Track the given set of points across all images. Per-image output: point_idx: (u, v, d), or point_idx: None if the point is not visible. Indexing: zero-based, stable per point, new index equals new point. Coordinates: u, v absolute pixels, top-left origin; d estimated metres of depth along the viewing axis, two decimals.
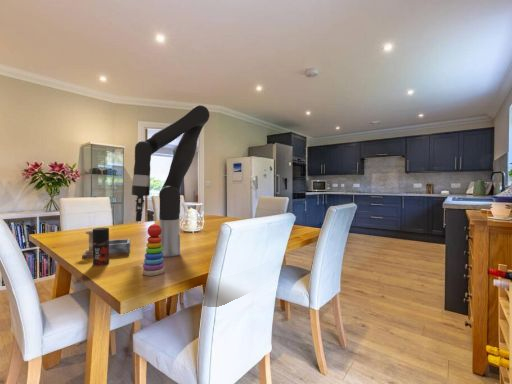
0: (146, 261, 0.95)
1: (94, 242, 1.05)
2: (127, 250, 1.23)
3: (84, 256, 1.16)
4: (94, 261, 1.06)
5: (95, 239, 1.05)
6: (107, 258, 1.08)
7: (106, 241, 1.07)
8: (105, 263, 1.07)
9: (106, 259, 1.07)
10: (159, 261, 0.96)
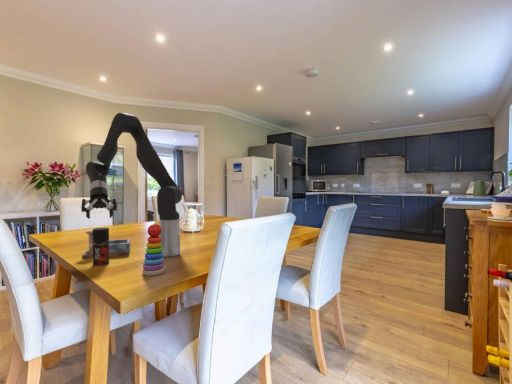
0: (146, 261, 0.95)
1: (94, 242, 1.05)
2: (127, 250, 1.23)
3: (84, 256, 1.16)
4: (94, 261, 1.06)
5: (95, 239, 1.05)
6: (107, 258, 1.08)
7: (106, 241, 1.07)
8: (105, 263, 1.07)
9: (106, 259, 1.07)
10: (159, 261, 0.96)
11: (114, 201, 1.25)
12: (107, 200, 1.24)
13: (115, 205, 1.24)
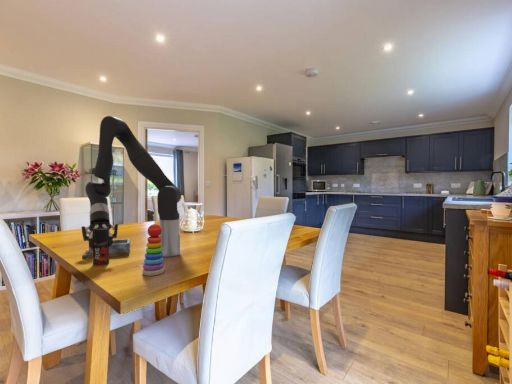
0: (146, 261, 0.95)
1: (94, 242, 1.05)
2: (127, 250, 1.23)
3: (84, 256, 1.16)
4: (94, 261, 1.06)
5: (95, 239, 1.05)
6: (107, 258, 1.08)
7: (106, 241, 1.07)
8: (105, 263, 1.07)
9: (106, 259, 1.07)
10: (159, 261, 0.96)
11: (116, 227, 1.14)
12: (108, 225, 1.13)
13: (115, 232, 1.12)
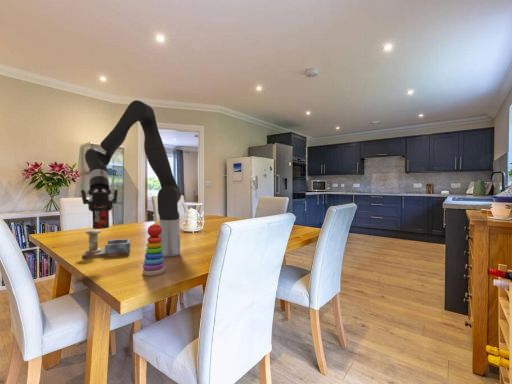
0: (146, 261, 0.95)
1: (94, 205, 1.05)
2: (127, 250, 1.23)
3: (84, 256, 1.16)
4: (94, 224, 1.05)
5: (94, 201, 1.05)
6: (107, 221, 1.08)
7: (106, 204, 1.07)
8: (105, 226, 1.07)
9: (106, 222, 1.07)
10: (159, 261, 0.96)
11: (115, 193, 1.14)
12: (108, 191, 1.13)
13: (115, 197, 1.12)
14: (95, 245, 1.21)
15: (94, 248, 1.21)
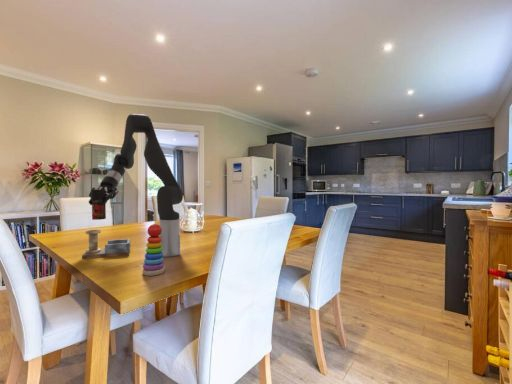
0: (146, 261, 0.95)
1: None
2: (127, 250, 1.23)
3: (84, 256, 1.16)
4: (92, 215, 1.29)
5: None
6: (100, 214, 1.28)
7: (99, 199, 1.28)
8: (98, 218, 1.28)
9: (99, 215, 1.28)
10: (159, 261, 0.96)
11: (113, 190, 1.33)
12: (110, 188, 1.34)
13: (111, 194, 1.31)
14: (95, 245, 1.21)
15: (94, 248, 1.21)
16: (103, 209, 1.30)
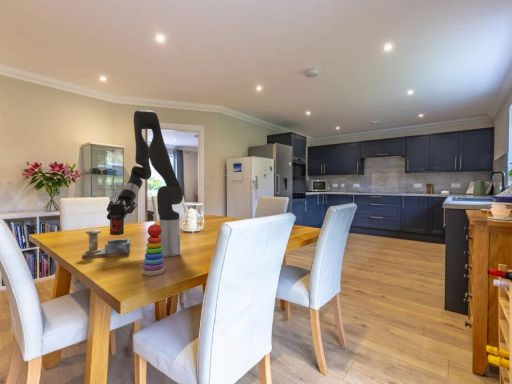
0: (146, 261, 0.95)
1: (110, 214, 1.24)
2: (127, 250, 1.23)
3: (84, 256, 1.16)
4: (110, 230, 1.25)
5: (110, 211, 1.24)
6: (118, 229, 1.24)
7: (117, 214, 1.23)
8: (116, 233, 1.23)
9: (117, 230, 1.24)
10: (159, 261, 0.96)
11: (132, 204, 1.28)
12: (128, 202, 1.30)
13: (129, 208, 1.27)
14: (95, 245, 1.21)
15: (94, 248, 1.21)
16: (121, 224, 1.25)
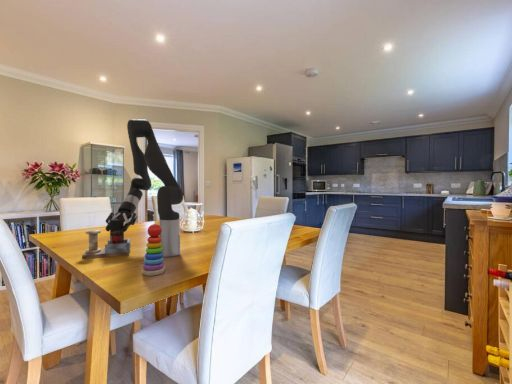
0: (146, 261, 0.95)
1: (110, 230, 1.25)
2: (127, 250, 1.23)
3: (84, 256, 1.16)
4: None
5: (110, 227, 1.24)
6: None
7: (117, 230, 1.24)
8: None
9: None
10: (159, 261, 0.96)
11: (133, 216, 1.29)
12: (128, 214, 1.30)
13: (131, 220, 1.27)
14: (95, 245, 1.21)
15: (94, 248, 1.21)
16: (121, 240, 1.26)
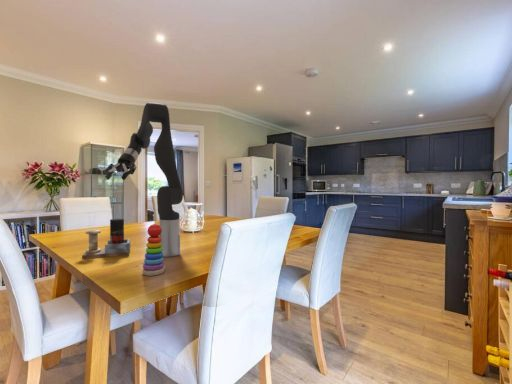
0: (146, 261, 0.95)
1: (110, 230, 1.25)
2: (127, 250, 1.23)
3: (84, 256, 1.16)
4: None
5: (110, 227, 1.24)
6: None
7: (117, 230, 1.24)
8: None
9: None
10: (159, 261, 0.96)
11: (132, 166, 1.33)
12: (128, 165, 1.34)
13: (130, 169, 1.31)
14: (95, 245, 1.21)
15: (94, 248, 1.21)
16: (122, 240, 1.26)
